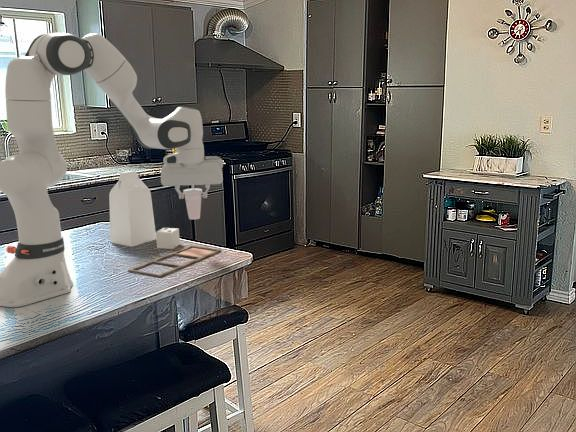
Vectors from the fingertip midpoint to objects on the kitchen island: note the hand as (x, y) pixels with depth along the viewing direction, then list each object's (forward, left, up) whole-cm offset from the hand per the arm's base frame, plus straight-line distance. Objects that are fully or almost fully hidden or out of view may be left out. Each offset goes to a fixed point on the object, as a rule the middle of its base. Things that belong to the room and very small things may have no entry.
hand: (193, 198), depth 192 cm
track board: (-10, 0, -19) cm, 22 cm away
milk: (+3, +32, -19) cm, 38 cm away
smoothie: (0, 0, -7) cm, 7 cm away
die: (+3, +15, -19) cm, 25 cm away
